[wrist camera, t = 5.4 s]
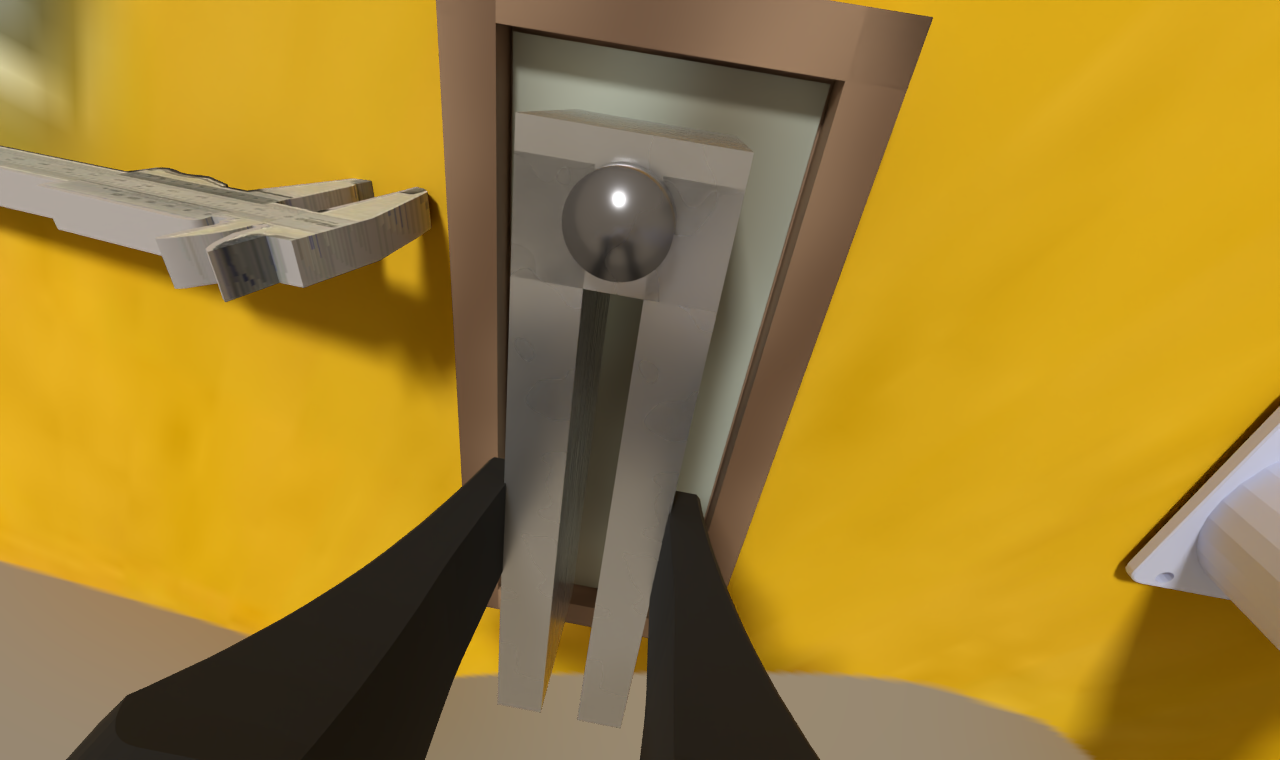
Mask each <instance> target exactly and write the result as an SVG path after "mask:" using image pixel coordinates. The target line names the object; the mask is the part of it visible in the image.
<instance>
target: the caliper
mask: <svg viewBox="0 0 1280 760" xmlns="http://www.w3.org/2000/svg"><path fill="white" fill-rule="evenodd" d="M0 206H2V207H6V208H11V209H15V210H19V211H23V212H28V213H32V214H36V215H40V216H44V217H49V218H53V220H54V222H55V224H56V226H57V228H58V229H59V230H63V231H67V232H71V233H74V234H78V235H82V236H86V237H90V238H94V239H98V240H102V241H106V242H110V243H114V244H118V245H121V246H125V247H129V248H133V249H137V250H141V251H145V252H149V253H153V254H157V255H161V256H162V257H163V260H164V262H165V265H166V267H167V270H168V272H169V275H170V277H171V279H172V282H173V284H174V287H175V289H179V288H190V287H196V286H203V285H209V284H216V283H218V286H219V289H220V292H221V295H222V297H223V300H224V301H225V302H227V301H230V300H233V299H236V298H238V297H241V296H244V295H247V294H249V293H252V292H255V291H258V290H261V289H263V288H266V287H269V286H272V285H274V284H277V283H283V284H288V285H293V286H298V287H302V288H304V287H307V286H310V285H313V284H316V283H318V282H321V281H324V280H327V279H330V278H332V277H335V276H338V275H341V274H343V273H346V272H349V271H352V270H355V269H357V268H360V267H363V266H366V265H368V264H371V263H374V262H377V261H379V260H381V259H383V258H384V257H386V256H388V255H389V254H391V253H393V252H394V251H396V250H398V249H399V248H401V247H403V246H404V245H406V244H408V243H409V242H411V241H412V240H414V239H416V238H417V237H419V236H421V235H422V234H424V233H425V232H427V231H428V230H430V229H431V228H432V227H431V218H430V210H429V201H428V193H427V191H426V190H425V189H422V188H419V187H414V188H410V189H407V190H403V191H399V192H395V193H391V194H387V195H383V196H379V197H374V193H373V187H372V181H368V180H361V179H345V180H336V181H328V182H319V183H310V184H301V185H293V186H284V187H275V188H266V189H258V190H249V191H246V190H241V189H236V188H231V187H228V185H227V184H225V183H223V182H221V181H218V180H216V179H214V178H212V177H209V176H202V175H191V174H185V173H181V172H179V171H177V170H174V169H170V168H150V169H143V170H135V171H122V170H117V169H112V168H107V167H102V166H98V165H93V164H88V163H83V162H78V161H73V160H68V159H63V158H58V157H53V156H49V155H44V154H39V153H34V152H29V151H24V150H19V149H14V148H9V147H4V146H0Z"/></svg>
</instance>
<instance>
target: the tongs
mask: <svg viewBox="0 0 1280 760" xmlns="http://www.w3.org/2000/svg"><path fill="white" fill-rule="evenodd" d="M753 155H754V152H753V151H752V150H751V149H750V148H749V147H748V146H747V145H746V144H745V143H744V142H742V141H741V140H740V139H739V138H738V137H737V136H732V135H726V134H720V133H714V132H709V131H703V130H697V129H691V128H685V127H679V126H673V125H667V124H661V123H655V122H649V121H644V120H638V119H632V118H626V117H620V116H614V115H608V114H602V113H596V112H590V111H585V110H579V109H565V110H547V111H528V112H515V143H514V176H513V209H512V243H511V276H510V309H509V342H508V375H507V408H506V441H505V474H504V483H506V500H505V526H504V551H503V572H502V574H501V606H500V639H499V672H498V704H499V705H504V706H509V707H514V708H519V709H524V710H529V711H534V712H539V713H541V710H542V706H543V703H544V699H545V695H546V691H547V687H548V684H549V680H550V676H551V672H552V668H553V665H554V661H555V657H556V653H557V649H558V646H559V642H560V638H561V634H562V630H563V627H564V623H565V619H566V615H567V612H568V608H569V604H570V600H571V596H572V593H573V585H574V577H575V569H576V561H577V553H578V545H579V537H580V530H581V522H582V514H583V506H584V498H585V490H586V482H587V474H588V466H589V458H590V450H591V442H592V434H593V426H594V418H595V410H596V402H597V394H598V387H599V379H600V371H601V363H602V355H603V347H604V339H605V331H606V323H607V315H608V307H609V299H610V294H615V295H621V296H626V297H632V298H638V299H643V300H644V301H643V307H642V314H641V320H640V326H639V332H638V339H637V345H636V351H635V358H634V364H633V370H632V377H631V383H630V389H629V395H628V402H627V408H626V414H625V421H624V427H623V433H622V440H621V446H620V452H619V458H618V465H617V471H616V477H615V484H614V490H613V496H612V503H611V509H610V515H609V521H608V528H607V534H606V540H605V547H604V553H603V559H602V566H601V572H600V578H599V584H598V591H597V597H596V603H595V610H594V616H593V622H592V629H591V635H590V641H589V647H588V654H587V660H586V666H585V673H584V680H583V685H582V692H581V698H580V704H579V711H578V717H577V720H580V721H586V722H591V723H596V724H601V725H606V726H611V727H616V728H621V724H622V720H623V715H624V711H625V707H626V703H627V698H628V694H629V690H630V685H631V681H632V677H633V673H634V668H635V664H636V660H637V655H638V651H639V647H640V642H641V638H642V634H643V630H644V625H645V621H646V617H647V612H648V608H649V599H650V595H651V590H652V586H653V581H654V577H655V572H656V568H657V563H658V559H659V554H660V550H661V545H662V541H663V536H664V532H665V528H666V523H667V519H668V515H669V514H670V513H671V509H672V504H673V500H674V496H675V492H676V487H677V483H678V479H679V474H680V470H681V466H682V461H683V457H684V453H685V448H686V444H687V440H688V436H689V431H690V427H691V423H692V418H693V414H694V410H695V405H696V401H697V397H698V392H699V388H700V384H701V379H702V375H703V371H704V367H705V362H706V358H707V354H708V349H709V345H710V341H711V336H712V332H713V328H714V323H715V319H716V315H717V310H718V306H719V302H720V298H721V293H722V289H723V285H724V280H725V276H726V272H727V267H728V263H729V259H730V254H731V250H732V246H733V242H734V237H735V233H736V229H737V224H738V220H739V216H740V211H741V207H742V203H743V198H744V194H745V190H746V185H747V181H748V177H749V173H750V168H751V164H752V160H753Z"/></svg>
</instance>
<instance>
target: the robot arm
mask: <svg viewBox="0 0 1280 760" xmlns="http://www.w3.org/2000/svg"><path fill="white" fill-rule="evenodd" d="M504 474H505V459H502V458H497V457H493V458H492V459H490V460H489V461H488V462H487V463H486V464H485V465H484V466H483V467H482V468H481V469H480V470H479V471H478V472H477V473H476V474H475V475H474V476H473V477H472V478H471V479H470V480H468V481H467V482H466V483H465V484H464V485H463V486H462V487H461V488H460V489H459V490H458V491H457V492H456V493H455V494H454V495H452V496H451V497H450V498H449V499H448V500H447V501H446V502H445V503H443V504H442V505H441V506H440V507H439V508H438V509H437V510H435V511H434V512H433V513H432V514H431V515H430V516H429V517H427V518H426V519H425V520H424V521H423V522H422V523H420V524H419V525H418V526H417V527H415V528H414V529H413V530H412V531H410V532H409V533H408V534H407V535H405V536H404V537H403V538H402V539H400V540H399V541H398V542H397V543H395V544H394V545H393V546H392V547H390V548H389V549H388V550H386V551H385V552H384V553H382V554H381V555H380V556H378V557H377V558H376V559H374V560H373V561H371V562H370V563H369V564H367V565H366V566H364V567H363V568H362V569H360V570H359V571H357V572H356V573H354V574H353V575H351V576H350V577H348V578H347V579H345V580H344V581H342V582H341V583H339V584H338V585H336V586H335V587H333V588H332V589H330V590H328V591H327V592H325V593H324V594H322V595H320V596H319V597H317V598H316V599H314V600H313V601H311V602H309V603H308V604H306V605H304V606H303V607H301V608H299V609H298V610H296V611H294V612H293V613H291V614H289V615H288V616H286V617H284V618H282V619H281V620H279V621H277V622H275V623H273V624H271V625H269V626H268V627H266V628H264V629H262V630H260V631H258V632H257V633H255V634H253V635H251V636H249V637H247V638H245V639H244V640H242V641H240V642H238V643H236V644H234V645H232V646H231V647H229V648H227V649H225V650H223V651H221V652H219V653H217V654H215V655H213V656H211V657H210V658H207V659H205V660H203V661H201V662H198V663H196V664H194V665H192V666H190V667H188V668H186V669H184V670H181V671H179V672H177V673H175V674H173V675H171V676H169V677H166V678H164V679H162V680H160V681H158V682H156V683H154V684H152V685H150V686H147V687H145V688H143V689H140V690H138V691H136V692H134V693H131V694H129V695H127V696H126V697H125V698H124V699H123V700H122V701H121V702H120V703H119V704H118V705H117V706H116V707H115V708H114V709H113V710H112V711H111V712H110V713H109V714H108V715H107V716H106V717H105V718H104V719H103V720H102V721H101V722H100V723H99V724H98V725H97V726H96V727H95V728H94V730H93V731H92V732H91V733H90V734H89V735H88V736H87V737H86V738H85V739H84V741H83V742H82V743H81V744H80V745H79V746H78V747H77V748H76V749H75V751H74V752H73V753H72V754H71V755H70V756H69V757H68V758H67V759H66V760H425V758H426V755H427V752H428V749H429V746H430V743H431V740H432V738H433V735H434V732H435V729H436V726H437V723H438V721H439V718H440V715H441V712H442V710H443V707H444V704H445V701H446V699H447V696H448V693H449V690H450V687H451V685H452V682H453V679H454V677H455V675H456V672H457V670H458V667H459V665H460V663H461V660H462V658H463V656H464V654H465V652H466V650H467V647H468V645H469V643H470V641H471V639H472V637H473V634H474V632H475V630H476V628H477V626H478V624H479V622H480V619H481V617H482V615H483V613H484V611H485V609H486V607H487V604H488V602H489V600H490V598H491V596H492V594H493V592H494V589H495V587H496V585H497V583H498V581H499V578H500V576H501V574H502V572H503V551H504V526H505V500H506V483H504ZM1125 568H1126V572H1127V573H1128V575H1129V576H1130V577H1131V578H1132V579H1133V580H1134V581H1135V582H1138V583H1142V584H1147V585H1153V586H1158V587H1163V588H1169V589H1174V590H1180V591H1185V592H1190V593H1196V594H1201V595H1206V596H1212V597H1217V598H1222V599H1228V600H1231V601H1232V602H1233V603H1234V604H1235V605H1236V606H1237V607H1238V608H1239V609H1240V610H1241V611H1242V612H1243V613H1244V614H1245V615H1246V616H1247V617H1248V618H1249V619H1250V621H1251V622H1252V623H1253V624H1254V625H1255V626H1256V627H1257V628H1258V629H1259V630H1260V631H1261V632H1262V633H1263V634H1264V635H1265V636H1266V637H1267V638H1268V639H1269V640H1270V641H1271V642H1272V643H1273V644H1274V645H1275V647H1276V648H1277V649H1278V650H1279V651H1280V406H1279V407H1278V408H1277V409H1276V410H1275V411H1274V412H1273V413H1272V414H1271V415H1270V417H1269V418H1268V419H1267V420H1266V421H1265V422H1264V423H1263V424H1262V425H1261V426H1260V427H1259V428H1258V429H1257V430H1256V431H1255V432H1254V433H1253V434H1252V435H1251V436H1250V437H1249V438H1248V439H1247V440H1246V441H1245V442H1244V443H1243V444H1242V446H1241V447H1240V448H1239V449H1238V450H1237V451H1236V452H1235V453H1234V454H1233V455H1232V456H1231V457H1230V458H1229V459H1228V460H1227V461H1226V462H1225V463H1224V464H1223V465H1222V466H1221V467H1220V468H1219V469H1218V470H1217V471H1216V472H1215V473H1214V475H1213V476H1212V477H1211V478H1210V479H1209V480H1208V481H1207V482H1206V483H1205V484H1204V485H1203V486H1202V487H1201V488H1200V489H1199V490H1198V491H1197V492H1196V493H1195V494H1194V495H1193V496H1192V497H1191V498H1190V499H1189V500H1188V501H1187V502H1186V504H1185V505H1184V506H1183V507H1182V508H1181V509H1180V510H1179V511H1178V512H1177V513H1176V514H1175V515H1174V516H1173V517H1172V518H1171V519H1170V520H1169V521H1168V522H1167V523H1166V524H1165V525H1164V526H1163V527H1162V528H1161V529H1160V530H1159V532H1158V533H1157V534H1156V535H1155V536H1154V537H1153V538H1152V539H1151V540H1150V541H1149V542H1148V543H1147V544H1146V545H1145V546H1144V547H1143V548H1142V549H1141V550H1140V551H1139V552H1138V553H1137V554H1136V555H1135V556H1134V557H1133V558H1132V559H1131V561H1130V562H1129V563H1128V564H1127V566H1126V567H1125ZM640 760H820V759H819V757H818V756H817V754H816V753H815V751H814V750H813V749H812V747H811V746H810V744H809V742H808V741H807V739H806V738H805V736H804V734H803V733H802V731H801V730H800V728H799V727H798V725H797V723H796V722H795V720H794V718H793V717H792V715H791V713H790V712H789V710H788V708H787V707H786V705H785V704H784V702H783V700H782V699H781V697H780V696H779V694H778V692H777V690H776V689H775V687H774V685H773V683H772V681H771V679H770V678H769V676H768V674H767V672H766V670H765V669H764V667H763V665H762V663H761V661H760V659H759V657H758V655H757V653H756V651H755V649H754V647H753V645H752V643H751V641H750V639H749V637H748V635H747V633H746V631H745V629H744V627H743V625H742V622H741V620H740V618H739V616H738V613H737V611H736V609H735V606H734V604H733V602H732V599H731V597H730V595H729V592H728V590H727V587H726V585H725V582H724V579H723V576H722V574H721V571H720V568H719V565H718V563H717V560H716V557H715V554H714V551H713V548H712V545H711V542H710V538H709V535H708V532H707V528H706V524H705V520H704V516H703V512H702V507H701V501H700V498H699V497H698V496H697V494H691V493H686V492H681V491H676V492H675V496H674V500H673V504H672V509H671V513H670V514H669V515H668V519H667V523H666V528H665V532H664V536H663V541H662V545H661V550H660V554H659V559H658V563H657V568H656V572H655V577H654V581H653V586H652V590H651V595H650V599H649V628H648V659H647V691H646V707H645V720H644V729H643V738H642V746H641V755H640Z"/></svg>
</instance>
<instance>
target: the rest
mask: <svg viewBox="0 0 1280 760" xmlns="http://www.w3.org/2000/svg"><path fill="white" fill-rule="evenodd" d="M436 8H437V27H438V46H439V64H440V83H441V101H442V120H443V138H444V157H445V176H446V194H447V213H448V231H449V250H450V268H451V287H452V306H453V324H454V343H455V361H456V380H457V398H458V417H459V436H460V454H461V473H462V486H463V485H464V484H465V483H466V482H467V481H468V480H470V479H471V478H472V477H473V476H474V475H475V474H476V473H477V472H478V471H479V470H480V469H481V468H482V467H483V466H484V465H485V464H486V463H487V462H488V461H489V460H490V459H492V458H493V457H497V458H502V459H505V441H506V408H507V375H508V342H509V309H510V276H511V243H512V209H513V176H514V143H515V112H528V111H547V110H565V109H579V110H585V111H590V112H596V113H602V114H608V115H614V116H620V117H626V118H632V119H638V120H644V121H649V122H655V123H661V124H667V125H673V126H679V127H685V128H691V129H697V130H703V131H709V132H714V133H720V134H726V135H732V136H737V137H738V138H739V139H740V140H741V141H742V142H744V143H745V144H746V145H747V146H748V147H749V148H750V149H751V150H752V151H753V152H754V155H753V160H752V164H751V168H750V173H749V177H748V181H747V185H746V190H745V194H744V198H743V203H742V207H741V211H740V216H739V220H738V224H737V229H736V233H735V237H734V242H733V246H732V250H731V254H730V259H729V263H728V267H727V272H726V276H725V280H724V285H723V289H722V293H721V298H720V302H719V306H718V310H717V315H716V319H715V323H714V328H713V332H712V336H711V341H710V345H709V349H708V354H707V358H706V362H705V367H704V371H703V375H702V379H701V384H700V388H699V392H698V397H697V401H696V405H695V410H694V414H693V418H692V423H691V427H690V431H689V436H688V440H687V444H686V448H685V453H684V457H683V461H682V466H681V470H680V474H679V479H678V483H677V487H676V491H681V492H686V493H691V494H697V496H698V497H699V498H700V501H701V507H702V512H703V516H704V520H705V524H706V528H707V532H708V535H709V538H710V542H711V545H712V548H713V551H714V554H715V557H716V560H717V563H718V565H719V568H720V571H721V574H722V576H723V579H724V582H725V585H726V587H727V586H728V584H729V581H730V578H731V575H732V573H733V570H734V567H735V564H736V562H737V559H738V556H739V553H740V550H741V548H742V545H743V542H744V539H745V537H746V534H747V531H748V528H749V526H750V523H751V520H752V517H753V514H754V512H755V509H756V506H757V503H758V501H759V498H760V495H761V492H762V490H763V487H764V484H765V481H766V478H767V476H768V473H769V470H770V467H771V465H772V462H773V459H774V456H775V454H776V451H777V448H778V445H779V442H780V440H781V437H782V434H783V431H784V429H785V426H786V423H787V420H788V418H789V415H790V412H791V409H792V407H793V404H794V401H795V398H796V395H797V393H798V390H799V387H800V384H801V382H802V379H803V376H804V373H805V371H806V368H807V365H808V362H809V359H810V357H811V354H812V351H813V348H814V346H815V343H816V340H817V337H818V335H819V332H820V329H821V326H822V323H823V321H824V318H825V315H826V312H827V310H828V307H829V304H830V301H831V299H832V296H833V293H834V290H835V288H836V285H837V282H838V279H839V276H840V274H841V271H842V268H843V265H844V263H845V260H846V257H847V254H848V252H849V249H850V246H851V243H852V240H853V238H854V235H855V232H856V229H857V227H858V224H859V221H860V218H861V216H862V213H863V210H864V207H865V204H866V202H867V199H868V196H869V193H870V191H871V188H872V185H873V182H874V180H875V177H876V174H877V171H878V169H879V166H880V163H881V160H882V157H883V155H884V152H885V149H886V146H887V144H888V141H889V138H890V135H891V133H892V130H893V127H894V124H895V121H896V119H897V116H898V113H899V110H900V108H901V105H902V102H903V99H904V97H905V94H906V91H907V88H908V85H909V83H910V80H911V77H912V74H913V72H914V69H915V66H916V63H917V61H918V58H919V55H920V52H921V49H922V47H923V44H924V41H925V38H926V36H927V33H928V30H929V27H930V25H931V22H932V19H933V17H928V16H922V15H915V14H909V13H903V12H897V11H891V10H885V9H879V8H872V7H866V6H860V5H854V4H848V3H842V2H836V1H830V0H436ZM643 301H644V300H643V299H638V298H632V297H626V296H621V295H615V294H610V299H609V307H608V315H607V323H606V331H605V339H604V347H603V355H602V363H601V371H600V379H599V387H598V394H597V402H596V410H595V418H594V426H593V434H592V442H591V450H590V458H589V466H588V474H587V482H586V490H585V498H584V506H583V514H582V522H581V530H580V537H579V545H578V553H577V561H576V569H575V577H574V585H573V593H572V596H571V600H570V604H569V608H568V612H567V615H566V619H565V622H568V623H573V624H579V625H584V626H589V627H592V622H593V616H594V610H595V603H596V597H597V591H598V584H599V578H600V572H601V566H602V559H603V553H604V547H605V540H606V534H607V528H608V521H609V515H610V509H611V503H612V496H613V490H614V484H615V477H616V471H617V465H618V458H619V452H620V446H621V440H622V433H623V427H624V421H625V414H626V408H627V402H628V395H629V389H630V383H631V377H632V370H633V364H634V358H635V351H636V345H637V339H638V332H639V326H640V320H641V314H642V307H643ZM500 606H501V576H500V578H499V581H498V583H497V585H496V587H495V589H494V592H493V594H492V596H491V598H490V600H489V602H488V604H487V607H491V608H496V609H500ZM648 628H649V608H648V612H647V617H646V621H645V625H644V630H643V634H642V637H646V638H648Z"/></svg>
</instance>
